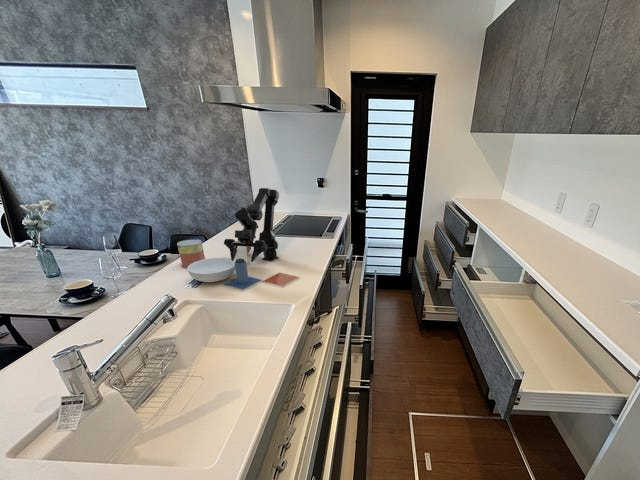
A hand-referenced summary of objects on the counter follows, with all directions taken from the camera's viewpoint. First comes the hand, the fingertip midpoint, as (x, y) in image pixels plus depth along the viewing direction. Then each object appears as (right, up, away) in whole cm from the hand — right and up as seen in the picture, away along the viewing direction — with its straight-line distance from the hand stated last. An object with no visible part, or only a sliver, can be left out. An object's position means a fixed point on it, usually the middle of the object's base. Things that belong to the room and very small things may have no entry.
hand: (241, 261), depth 139 cm
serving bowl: (-16, -8, +7) cm, 19 cm away
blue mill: (0, -10, +2) cm, 10 cm away
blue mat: (0, -10, +2) cm, 10 cm away
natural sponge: (-15, +5, +38) cm, 41 cm away
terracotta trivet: (+16, -9, +7) cm, 19 cm away
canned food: (-35, 0, +23) cm, 42 cm away
